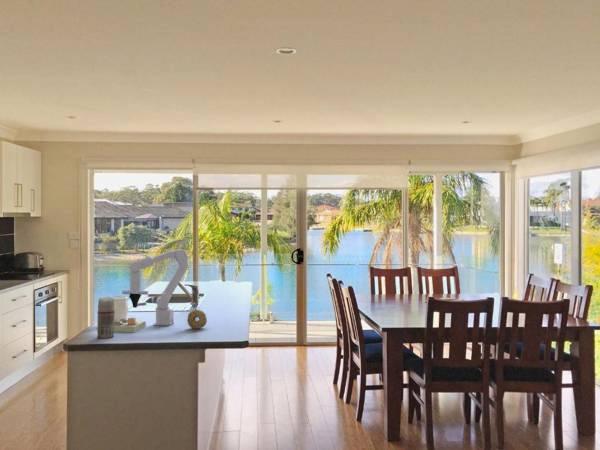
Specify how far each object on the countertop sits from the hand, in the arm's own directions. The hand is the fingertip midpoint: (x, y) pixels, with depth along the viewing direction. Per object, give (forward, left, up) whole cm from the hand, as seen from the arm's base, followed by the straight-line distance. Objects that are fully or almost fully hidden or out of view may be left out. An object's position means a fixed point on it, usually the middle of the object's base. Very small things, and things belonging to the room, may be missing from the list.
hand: (135, 307), depth 302 cm
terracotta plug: (-2, +10, -9) cm, 14 cm away
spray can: (+4, +28, -11) cm, 30 cm away
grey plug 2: (+5, +4, -10) cm, 12 cm away
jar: (+13, -6, -11) cm, 18 cm away
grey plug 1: (+5, +12, -10) cm, 16 cm away
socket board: (+1, +8, -10) cm, 13 cm away
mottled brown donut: (-36, +4, -11) cm, 38 cm away
